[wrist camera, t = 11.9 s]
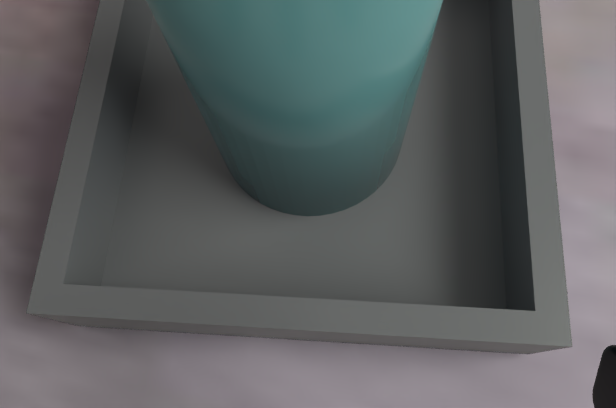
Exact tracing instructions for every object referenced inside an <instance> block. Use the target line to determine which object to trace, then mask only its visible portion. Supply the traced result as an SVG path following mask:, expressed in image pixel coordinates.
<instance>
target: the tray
mask: <svg viewBox="0 0 616 408" xmlns="http://www.w3.org/2000/svg"><path fill="white" fill-rule="evenodd" d="M26 313H27V314H31V315H35V316H40V317H44V318H48V319H52V320H56V321H60V322H65V323H69V324H73V325H77V326H86V327H102V328H118V329H134V330H150V331H166V332H182V333H198V334H214V335H230V336H246V337H262V338H278V339H294V340H310V341H326V342H342V343H358V344H374V345H390V346H406V347H422V348H438V349H454V350H470V351H486V352H502V353H518V354H533V353H539V352H544V351H550V350H556V349H562V348H568V347H572V339H571V329H570V318H569V308H568V297H567V287H566V276H565V266H564V256H563V245H562V235H561V224H560V214H559V204H558V193H557V183H556V172H555V162H554V152H553V141H552V131H551V120H550V110H549V99H548V89H547V79H546V68H545V58H544V47H543V37H542V27H541V16H540V6H539V0H443V3H442V6H441V10H440V13H439V17H438V20H437V24H436V27H435V31H434V34H433V38H432V42H431V45H430V49H429V52H428V56H427V59H426V63H425V66H424V70H423V73H422V77H421V80H420V84H419V87H418V91H417V94H416V98H415V101H414V105H413V108H412V112H411V115H410V119H409V122H408V126H407V129H406V133H405V136H404V140H403V143H402V147H401V150H400V154H399V156H398V159H397V162H396V164H395V166H394V168H393V170H392V172H391V173H390V175H389V176H388V178H387V179H386V180H385V182H384V183H383V184H382V185H381V186H380V187H379V188H378V189H377V190H376V191H375V192H374V193H373V194H371V195H370V196H369V197H368V198H366V199H365V200H363V201H362V202H360V203H358V204H357V205H355V206H352V207H350V208H348V209H346V210H343V211H339V212H336V213H333V214H327V215H321V216H299V215H292V214H287V213H282V212H279V211H277V210H274V209H271V208H269V207H267V206H265V205H263V204H261V203H259V202H258V201H256V200H255V199H253V198H252V197H250V196H249V195H248V194H247V193H246V192H245V191H244V190H243V189H242V188H241V187H240V186H239V185H238V184H237V182H236V181H235V180H234V178H233V177H232V175H231V174H230V172H229V170H228V168H227V166H226V164H225V162H224V160H223V158H222V156H221V154H220V152H219V150H218V148H217V146H216V143H215V141H214V139H213V137H212V135H211V133H210V131H209V129H208V127H207V125H206V123H205V121H204V119H203V117H202V115H201V113H200V110H199V108H198V106H197V104H196V102H195V100H194V98H193V96H192V94H191V92H190V90H189V88H188V86H187V84H186V82H185V80H184V77H183V75H182V73H181V71H180V69H179V67H178V65H177V63H176V61H175V59H174V57H173V55H172V53H171V51H170V49H169V47H168V44H167V42H166V40H165V38H164V36H163V34H162V32H161V30H160V28H159V26H158V24H157V22H156V20H155V18H154V16H153V14H152V11H151V9H150V7H149V5H148V3H147V1H146V0H100V2H99V7H98V11H97V15H96V19H95V24H94V28H93V32H92V36H91V41H90V45H89V49H88V53H87V58H86V62H85V66H84V70H83V74H82V79H81V83H80V87H79V91H78V96H77V100H76V104H75V108H74V113H73V117H72V121H71V125H70V130H69V134H68V138H67V142H66V146H65V151H64V155H63V159H62V163H61V168H60V172H59V176H58V180H57V185H56V189H55V193H54V197H53V202H52V206H51V210H50V214H49V218H48V223H47V227H46V231H45V235H44V240H43V244H42V248H41V252H40V257H39V261H38V265H37V269H36V274H35V278H34V282H33V286H32V290H31V295H30V299H29V303H28V307H27V312H26Z"/></svg>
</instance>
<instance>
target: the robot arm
mask: <svg viewBox="0 0 616 408" xmlns="http://www.w3.org/2000/svg"><path fill="white" fill-rule="evenodd" d="M593 403H594V407H595V408H616V345H611V346H608V347H607V348H606V349H605V350H604V352H603V354H602V357H601V361H600V365H599V368H598V372H597V376H596V379H595V383H594V387H593Z"/></svg>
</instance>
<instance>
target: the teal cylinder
mask: <svg viewBox="0 0 616 408" xmlns="http://www.w3.org/2000/svg"><path fill="white" fill-rule="evenodd" d="M146 1H147V3H148V5H149V7H150V9H151V11H152V14H153V16H154V18H155V20H156V22H157V24H158V26H159V28H160V30H161V32H162V34H163V36H164V38H165V40H166V42H167V44H168V47H169V49H170V51H171V53H172V55H173V57H174V59H175V61H176V63H177V65H178V67H179V69H180V71H181V73H182V75H183V77H184V80H185V82H186V84H187V86H188V88H189V90H190V92H191V94H192V96H193V98H194V100H195V102H196V104H197V106H198V108H199V110H200V113H201V115H202V117H203V119H204V121H205V123H206V125H207V127H208V129H209V131H210V133H211V135H212V137H213V139H214V141H215V143H216V146H217V148H218V150H219V152H220V154H221V156H222V158H223V160H224V162H225V164H226V166H227V168H228V170H229V172H230V174H231V175H232V177H233V178H234V180H235V181H236V182H237V184H238V185H239V186H240V187H241V188H242V189H243V190H244V191H245V192H246V193H247V194H248V195H249V196H250V197H252V198H253V199H255V200H256V201H258V202H259V203H261V204H263V205H265V206H267V207H269V208H271V209H274V210H277V211H279V212H282V213H287V214H292V215H299V216H321V215H327V214H333V213H336V212H339V211H343V210H346V209H348V208H350V207H352V206H355V205H357V204H358V203H360V202H362V201H363V200H365V199H366V198H368V197H369V196H370V195H371V194H373V193H374V192H375V191H376V190H377V189H378V188H379V187H380V186H381V185H382V184H383V183H384V182H385V180H386V179H387V178H388V176H389V175H390V173H391V172H392V170H393V168H394V166H395V164H396V162H397V159H398V156H399V154H400V150H401V147H402V143H403V140H404V136H405V133H406V129H407V126H408V122H409V119H410V115H411V112H412V108H413V105H414V101H415V98H416V94H417V91H418V87H419V84H420V80H421V77H422V73H423V70H424V66H425V63H426V59H427V56H428V52H429V49H430V45H431V42H432V38H433V34H434V31H435V27H436V24H437V20H438V17H439V13H440V10H441V6H442V3H443V0H146Z"/></svg>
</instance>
